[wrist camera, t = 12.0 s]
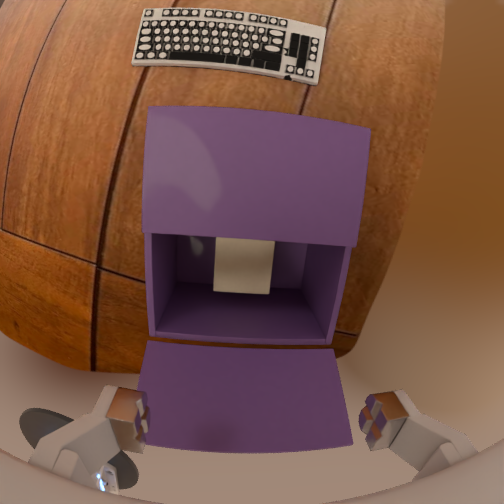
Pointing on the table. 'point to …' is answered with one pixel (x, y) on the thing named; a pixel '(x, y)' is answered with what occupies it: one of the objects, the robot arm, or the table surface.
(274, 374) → the flap
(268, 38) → the keyboard
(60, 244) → the table surface
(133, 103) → the table surface
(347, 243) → the box
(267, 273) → the block
